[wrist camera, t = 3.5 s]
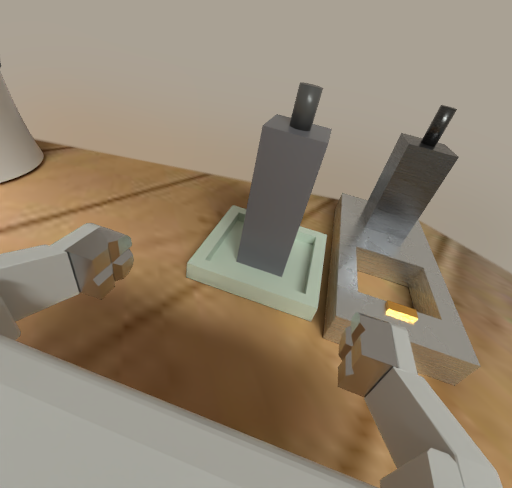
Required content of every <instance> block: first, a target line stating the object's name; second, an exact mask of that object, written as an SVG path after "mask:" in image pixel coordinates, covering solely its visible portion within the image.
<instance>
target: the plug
mask: <svg viewBox="0 0 512 488" xmlns="http://www.w3.org/2000/svg"><path fill="white" fill-rule="evenodd" d="M322 90H323V88H321V87H319V86H316V85H312V84H308V83H300V85H299V89H298V93H297V97H296V101H295V105H294V109H293V113H292V117H291V118H289V117H285V116H281V115H278V114H277V115H275V116H274V117H273V118H272V119H270V120H269V121H268V122H267V123H265V124H264V125H263V127H262V133H261V138H260V143H259V148H258V153H257V158H256V163H255V168H254V174H253V179H252V184H251V189H250V194H249V199H248V204H247V209H246V215H245V220H244V225H243V230H242V235H241V240H240V245H239V250H238V256H237V261H236V262H239V263H241V264H244V265H247V266H250V267H253V268H256V269H259V270H262V271H265V272H268V273H271V274H274V275H277V276H280V277H282V275H283V272H284V269H285V267H286V264H287V261H288V258H289V255H290V252H291V249H292V246H293V244H294V241H295V238H296V235H297V232H298V229H299V226H300V223H301V220H302V218H303V215H304V212H305V209H306V206H307V203H308V200H309V197H310V195H311V192H312V189H313V186H314V183H315V180H316V177H317V174H318V171H319V169H320V165H321V163H322V160H323V157H324V154H325V151H326V148H327V145H328V142H329V138H330V134H331V129H329V128H326V127H322V126H318V125H315V124H312V123H313V120H314V117H315V113H316V110H317V107H318V103H319V100H320V97H321V93H322Z"/></svg>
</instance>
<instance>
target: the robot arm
mask: <svg viewBox="0 0 512 488" xmlns="http://www.w3.org/2000/svg"><path fill="white" fill-rule="evenodd" d="M0 67H1V63H0ZM42 160H43V152H42V151H41V149H40V148H39V146H38V145H37V143H36V142H35V140H34V139H33V137H32V136H31V134H30V132H29V131H28V129H27V127H26V125H25V123H24V122H23V120H22V118H21V116H20V114H19V112H18V110H17V108H16V106H15V104H14V102H13V99H12V97H11V95H10V93H9V91H8V88H7V86H6V84H5V82H4V79H3V77H2V74H1V72H0V183H1V182H4V181H8V180H11V179H14V178H16V177H19V176H21V175H23V174H26V173H28V172H29V171H31V170H33V169H34V168H36V167H37V166H38V165H39V164H40V163H41V162H42ZM131 246H132V242H131V238H130V237H129V236H127V235H124V234H122V233H119V232H116V231H113V230H110V229H108V228H105V227H101V226H99V225H96V224H93V223H86V224H84V225H83V226H81V227H79V228H78V229H76V230H75V231H73V232H71V233H70V234H68V235H66V236H65V237H63V238H61V239H60V240H58V241H57V242H55V243H53V244H52V245H50V246H48V245H41V246H36V247H32V248H27V249H22V250H17V251H13V252H8V253H3V254H0V488H378V487H375V486H373V485H370V484H368V483H365V482H363V481H360V480H358V479H355V478H353V477H351V476H348V475H346V474H343V473H341V472H338V471H336V470H333V469H331V468H328V467H326V466H323V465H321V464H318V463H316V462H314V461H311V460H309V459H306V458H304V457H301V456H299V455H296V454H294V453H291V452H289V451H286V450H284V449H282V448H279V447H277V446H274V445H272V444H269V443H267V442H264V441H262V440H259V439H257V438H254V437H252V436H249V435H247V434H245V433H242V432H240V431H237V430H235V429H232V428H230V427H227V426H225V425H222V424H220V423H217V422H215V421H213V420H210V419H208V418H205V417H203V416H200V415H198V414H195V413H193V412H190V411H188V410H185V409H183V408H180V407H178V406H176V405H173V404H171V403H168V402H166V401H163V400H161V399H158V398H156V397H153V396H151V395H148V394H146V393H144V392H141V391H139V390H136V389H134V388H131V387H129V386H126V385H124V384H121V383H119V382H116V381H114V380H111V379H109V378H107V377H104V376H102V375H99V374H97V373H94V372H92V371H89V370H87V369H84V368H82V367H79V366H77V365H74V364H72V363H70V362H67V361H65V360H62V359H60V358H57V357H55V356H52V355H50V354H47V353H45V352H42V351H40V350H37V349H35V348H33V347H30V346H28V345H25V344H23V343H20V342H18V341H15V340H16V339H17V338H18V337H19V336H20V333H21V331H20V329H19V328H18V326H17V324H16V322H15V321H18V320H20V319H22V318H24V317H27V316H29V315H31V314H34V313H36V312H38V311H41V310H43V309H45V308H48V307H50V306H52V305H55V304H57V303H59V302H61V301H64V300H66V299H68V298H71V297H73V296H75V295H78V294H79V292H80V293H83V294H86V295H89V296H92V297H95V298H98V299H101V300H102V299H103V298H104V297H105V296H106V295H107V294H108V293H109V292H110V291H111V290H112V289H113V288H114V287H115V281H118V280H121V279H124V278H125V277H126V276H127V275H128V274H129V272H130V270H131V268H132V266H133V261H134V259H133V254H132V253H131V251H130V250H129V248H130V247H131ZM339 357H340V358H341V360H342V362H341V364H340V365H339V367H338V387H340V388H342V389H345V390H347V391H350V392H352V393H355V394H357V395H360V396H362V397H365V398H364V400H365V402H366V404H367V406H368V408H369V410H370V412H371V414H372V416H373V419H374V421H375V423H376V425H377V427H378V429H379V431H380V433H381V436H382V438H383V440H384V442H385V444H386V446H387V448H388V450H389V452H390V455H391V457H392V459H393V461H394V463H395V465H396V467H397V469H396V470H394V471H393V472H391V473H390V474H388V475H386V476H385V477H383V478H382V479H381V480H380V488H503V487H502V484H501V481H500V479H499V476H498V473H497V471H496V470H495V468H494V467H493V466H492V464H491V463H490V462H489V461H488V459H487V458H486V457H485V456H484V454H483V453H482V452H481V450H480V449H479V448H478V447H477V445H476V444H475V443H474V442H473V440H472V439H471V438H470V436H469V435H468V434H467V433H466V431H465V430H464V429H463V428H462V426H461V425H460V424H459V422H458V421H457V420H456V419H455V417H454V416H453V415H452V413H451V412H450V411H449V410H448V408H447V407H446V406H445V405H444V403H443V402H442V401H441V399H440V398H439V397H438V396H437V394H436V393H435V392H434V391H433V389H432V388H431V387H430V385H429V384H428V383H427V382H426V380H425V379H424V378H423V377H421V376H418V373H417V369H416V365H415V361H414V356H413V352H412V348H411V344H410V339H409V335H408V331H407V329H406V328H405V327H403V326H399V325H396V324H393V323H390V322H386V321H383V320H380V319H377V318H374V317H371V316H368V315H365V314H362V313H359V312H356V313H355V314H354V315H353V317H352V319H351V326H349V327H346V328H345V330H344V332H343V334H342V336H341V339H340V344H339Z"/></svg>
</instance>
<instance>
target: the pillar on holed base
mask: <svg viewBox="0 0 512 488" xmlns="http://www.w3.org/2000/svg"><path fill="white" fill-rule="evenodd" d="M456 110H457V109H455V108H451V107H448V106H443V105H441V106H440V108H439V110H438V112H437V114H436V115H435V117H434V119H433V121H432V123H431V125H430V127H429V128H428V130H427V132H426V134H425V136H424V137H423V139H422V138H418V137H414V136H411V135H407V134H403V133H401V136H400V137H399V139H398V141H397V143H396V146H395V147H394V149H393V152H392V153H391V156H390V157H389V159H388V161H387V163H386V166H385V167H384V170H383V172H382V174H381V176H380V178H379V180H378V182H377V184H376V186H375V188H374V190H373V192H372V194H371V196H370V198H369V200H368V201H367V200H364V199H360V198H357V197H354V196H350V195H347V194H344V193H342V195H341V197H340V200H339V202H338V204H337V207H336V209H335V215H334V225H333V236H332V247H331V257H330V268H329V279H328V289H327V300H326V311H325V322H324V332H323V338H324V339H327V340H330V341H332V342H335V343H338V344H340V339H341V336H342V334H343V332H344V330H345V328H346V327H349V326H351V319H352V317H353V315H354V314H355V313H356V312H359V313H362V314H365V315H368V316H371V317H374V318H377V319H380V320H383V321H386V322H390V323H393V324H396V325H399V326H403V327H405V328H406V329H407V331H408V335H409V339H410V344H411V348H412V352H413V356H414V361H415V365H416V369H417V372H418V373H421V374H424V375H427V376H430V377H432V378H435V379H438V380H441V381H443V382H446V383H449V384H452V385H454V386H455V385H456V384H458V383H459V382H460V381H462V380H463V379H464V378H466V377H467V376H468V375H470V374H471V373H472V372H474V371H475V370H476V369H478V368H479V367H480V364H479V362H478V359H477V357H476V355H475V352H474V350H473V348H472V345H471V343H470V340H469V338H468V336H467V333H466V331H465V329H464V326H463V324H462V322H461V319H460V317H459V315H458V312H457V310H456V308H455V305H454V303H453V301H452V298H451V296H450V293H449V291H448V289H447V286H446V284H445V282H444V279H443V277H442V275H441V272H440V270H439V268H438V265H437V263H436V261H435V258H434V256H433V254H432V251H431V249H430V246H429V244H428V242H427V239H426V237H425V235H424V232H423V230H422V228H421V225H420V223H419V221H418V219H419V217H420V215H421V214H422V212H423V211H424V209H425V208H426V206H427V204H428V203H429V202H430V200H431V199H432V197H433V196H434V194H435V193H436V191H437V190H438V188H439V186H440V185H441V183H442V182H443V180H444V179H445V177H446V176H447V174H448V173H449V171H450V170H451V168H452V167H453V165H454V164H455V162H456V161H457V159H458V156H457V155H456V154H455V153H454V152H452V151H451V150H450V149H449V148H448V147H447V146H446V145H444V144H441V143H437V142H438V141H439V139H440V137H441V136H442V134H443V132H444V130H445V128H446V127H447V125H448V124H449V122H450V120H451V119H452V117H453V115H454V113H455V112H456ZM357 270H358V271H361V272H364V273H367V274H370V275H373V276H376V277H379V278H382V279H385V280H388V281H391V282H394V283H397V284H401V285H404V286H407V287H409V291H410V295H411V299H412V303H413V307H414V309H412V308H409V307H406V306H403V305H400V304H397V303H394V302H391V301H388V300H387V301H384V300H381V299H378V298H375V297H372V296H369V295H366V294H363V293H360V292H358V285H357Z"/></svg>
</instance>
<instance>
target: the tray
mask: <svg viewBox="0 0 512 488" xmlns="http://www.w3.org/2000/svg"><path fill="white" fill-rule="evenodd" d="M245 215H246V209H244V208H241V207H238V206H235V205H232V207H231V208H230V209H229V211H228V212H227V213H226V214H225V216H224V217H223V218H222V219H221V221H220V222H219V223H218V224H217V226H216V227H215V228H214V230H213V231H212V232H211V233H210V235H209V236H208V237H207V238H206V240H205V241H204V242H203V243H202V245H201V246H200V247H199V248H198V250H197V251H196V252H195V254H194V255H193V256H192V257H191V259H190V260H189V261H188V262H187V274H186V277H187V278H190V279H193V280H195V281H198V282H201V283H204V284H207V285H210V286H212V287H215V288H218V289H221V290H224V291H226V292H229V293H232V294H235V295H238V296H240V297H243V298H246V299H249V300H252V301H255V302H257V303H260V304H263V305H266V306H269V307H271V308H274V309H277V310H280V311H283V312H285V313H288V314H291V315H294V316H297V317H300V318H302V319H305V320H308V321H312V319H313V317H314V315H315V313H316V311H317V309H318V302H319V294H320V286H321V278H322V270H323V262H324V254H325V246H326V238H327V235H326V234H323V233H320V232H317V231H313V230H310V229H307V228H304V227H301V226H299V229H298V232H297V235H296V238H295V241H294V244H293V246H292V249H291V252H290V255H289V258H288V261H287V264H286V267H285V269H284V272H283V275H282V277H280V276H277V275H274V274H271V273H268V272H265V271H262V270H259V269H256V268H253V267H250V266H247V265H244V264H241V263H239V262H236V261H237V256H238V250H239V245H240V240H241V235H242V230H243V225H244V220H245Z"/></svg>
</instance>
